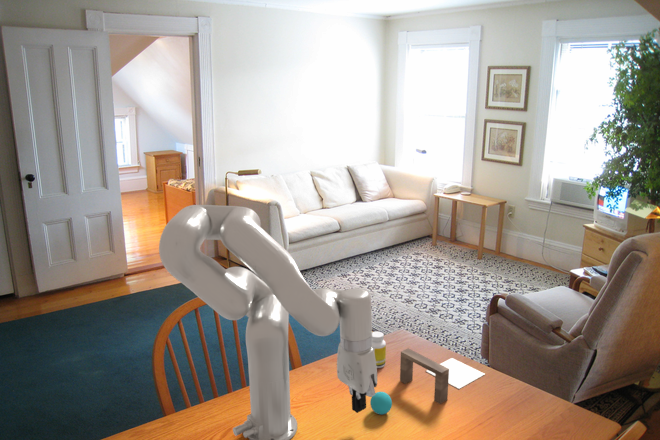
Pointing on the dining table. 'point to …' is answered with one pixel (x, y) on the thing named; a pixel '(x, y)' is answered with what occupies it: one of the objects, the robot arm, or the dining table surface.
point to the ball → (381, 403)
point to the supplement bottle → (379, 348)
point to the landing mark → (459, 373)
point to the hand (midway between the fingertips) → (359, 409)
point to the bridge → (439, 370)
